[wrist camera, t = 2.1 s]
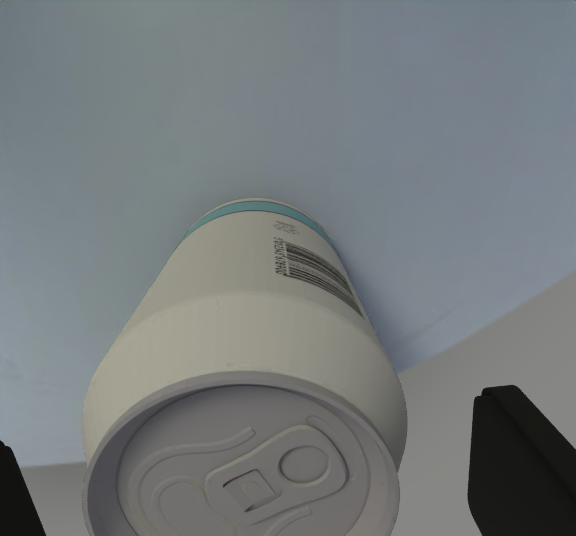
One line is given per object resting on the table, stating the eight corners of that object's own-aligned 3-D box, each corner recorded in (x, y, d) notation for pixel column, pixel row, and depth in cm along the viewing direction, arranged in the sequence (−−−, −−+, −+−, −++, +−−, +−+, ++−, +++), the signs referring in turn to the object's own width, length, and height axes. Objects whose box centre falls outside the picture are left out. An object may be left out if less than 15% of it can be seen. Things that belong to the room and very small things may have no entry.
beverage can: (146, 243, 18) (-54, 463, 7) (287, 161, 17) (328, 257, 6) (232, 363, 20) (189, 677, 9) (361, 296, 19) (493, 552, 8)
